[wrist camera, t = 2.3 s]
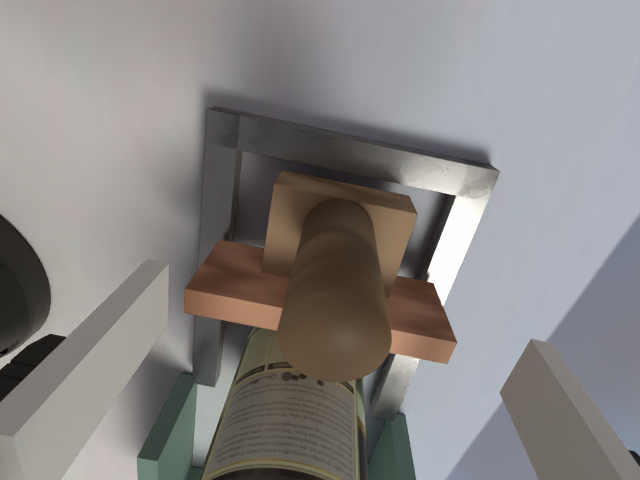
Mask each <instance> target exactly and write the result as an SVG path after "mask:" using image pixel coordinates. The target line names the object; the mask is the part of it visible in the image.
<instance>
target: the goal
mask: <svg viewBox="0 0 640 480" xmlns="http://www.w3.org/2000/svg"><path fill="white" fill-rule="evenodd" d="M196 395H197V384H195V383H192V375H191V374H186V373H181V375H180V376H179V378H178V380H177V382H176V384H175V386H174V388H173V390H172V392H171V394H170V396H169V397H168V399H167V401H166V403H165V405H164V407H163V409H162V411H161V413H160V415H159V416H158V418H157V420H156V422H155V424H154V426H153V428H152V430H151V432H150V434H149V436H148V437H147V439H146V441H145V443H144V445H143V447H142V449H141V451H140V453H139V455H138V457H137V471H138V480H198V479H199V476H200V474H201V471H202V468H197V467H192V458H193V442H194V426H195V411H196ZM368 480H416V476H415V471H414V465H413V459H412V453H411V447H410V441H409V435H408V429H407V423H406V417H405V415H401V414H397V415H396V417H395V419H394V421H389V420H386V422H385V425H384V427H383V429H382V432H381V434H380V437H379V439H378V442H377V444H376V446H375V449H374V451H373V454H372V456H371V458H370V461H369V463H368Z"/></svg>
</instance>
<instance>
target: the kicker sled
mask: <svg viewBox="0 0 640 480" xmlns="http://www.w3.org/2000/svg"><path fill="white" fill-rule="evenodd" d="M417 215H418V214H417V212H416V210H415V208H414V205H413V203H412V201H411V199H410V197H409V196H407V195H402V194H397V193H392V192H387V191H383V190H378V189H373V188H368V187H364V186H359V185H354V184H349V183H344V182H340V181H335V180H330V179H325V178H321V177H316V176H311V175H306V174H302V173H297V172H292V171H287V170H282V171H281V173H280V174H279V176H278V178H277V180H276V181H275V183H274V186H273V193H272V200H271V207H270V214H269V221H268V228H267V235H266V241H265V248H259V247H254V246H249V245H244V244H239V243H234V242H229V241H224V240H219V241H218V242H217V244H216V245H215V246H214V248H213V249H212V251H211V252H210V254H209V255H208V256H207V258H206V259H205V261H204V262H203V264H202V265H201V266H200V268H199V269H198V271H197V272H196V274H195V275H194V276H193V278H192V279H191V281H190V282H189V283H188V285H187V286H186V288H185V296H184V313H189V314H194V315H199V316H204V317H209V318H215V319H220V320H225V321H230V322H235V323H240V324H245V325H250V326H255V327H260V328H266V329H271V330H276V331H277V343H278V347H279V349H280V352H281V354H282V355H283V357H284V358H285V360H286V361H287V362H288V363H289V364H290V365H291V366H292V367H293V368H295V369H296V370H297V371H299V372H300V373H302V374H304V375H306V376H308V377H311V378H314V379H317V380H321V381H327V382H346V381H352V380H356V379H359V378H362V377H364V376H366V375H368V374H370V373H371V372H373V371H375V370H376V369H377V368H378V367H379V366H380V365H381V364H382V363H383V362H384V360H385V359H386V358H387V356H388V354H389V353H393V354H398V355H403V356H409V357H414V358H419V359H424V360H429V361H434V362H439V363H444V364H447V363H448V361H449V359H450V357H451V355H452V353H453V351H454V348H455V346H456V344H457V341H456V338H455V336H454V333H453V331H452V328H451V326H450V323H449V321H448V318H447V316H446V313H445V310H444V308H443V305H442V303H441V300H440V298H439V295H438V293H437V290H436V288H435V285H434V283H432V282H427V281H422V280H417V279H412V278H407V277H402V276H397V273H398V270H399V267H400V264H401V261H402V258H403V256H404V253H405V250H406V247H407V244H408V241H409V238H410V235H411V232H412V229H413V226H414V223H415V220H416V217H417Z"/></svg>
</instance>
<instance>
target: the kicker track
mask: <svg viewBox="0 0 640 480" xmlns="http://www.w3.org/2000/svg"><path fill="white" fill-rule="evenodd" d="M242 151H246V152H251V153H256V154H261V155H265V156H270V157H275V158H280V159H284V160H289V161H294V162H299V163H303V164H308V165H313V166H318V167H322V168H327V169H332V170H337V171H341V172H346V173H351V174H356V175H361V176H365V177H370V178H375V179H380V180H384V181H389V182H394V183H399V184H403V185H408V186H413V187H418V188H422V189H427V190H432V191H437V192H441V193H446V194H448V196H447V199H446V202H445V204H444V207H443V210H442V212H441V215H440V218H439V221H438V223H437V226H436V229H435V231H434V234H433V237H432V239H431V242H430V245H429V247H428V250H427V253H426V255H425V258H424V261H423V263H422V266H421V269H420V272H419V274H418V277H417V280H422V281H427V282H432V283H434V285H435V288H436V290H437V293H438V295H439V298H440V300H441V303H442V305H444V302H445V300H446V298H447V295H448V293H449V291H450V288H451V286H452V284H453V281H454V279H455V277H456V274H457V272H458V270H459V267H460V265H461V263H462V260H463V258H464V256H465V253H466V251H467V249H468V246H469V244H470V242H471V239H472V237H473V235H474V232H475V230H476V228H477V225H478V223H479V221H480V218H481V216H482V214H483V211H484V209H485V207H486V204H487V202H488V200H489V197H490V195H491V192H492V190H493V188H494V185H495V183H496V181H497V178H498V176H499V174H500V171H499V170H497V169H496V168H494V167H493V166H492V165H487V164H483V163H478V162H473V161H469V160H464V159H459V158H455V157H450V156H445V155H440V154H436V153H431V152H426V151H422V150H417V149H412V148H408V147H403V146H398V145H394V144H389V143H384V142H380V141H375V140H370V139H366V138H361V137H356V136H351V135H347V134H342V133H337V132H333V131H328V130H323V129H319V128H314V127H309V126H305V125H300V124H295V123H291V122H286V121H281V120H277V119H272V118H267V117H262V116H258V115H253V114H248V113H244V112H239V111H234V110H230V109H225V108H220V107H216V106H214V107H212V108H209V109H207V115H206V133H205V151H204V170H203V188H202V206H201V225H200V243H199V262H198V269H199V268H200V266H201V265H202V264H203V262H204V261H205V259H206V258H207V256H208V255H209V254H210V252H211V251H212V249H213V248H214V246H215V245H216V244H217V242H218V241H219V240H224V241H229V242H233V239H234V230H235V220H236V210H237V200H238V190H239V180H240V170H241V160H242ZM224 329H225V320H220V319H215V318H209V317H204V316H199V315H196V317H195V335H194V353H193V372H192V383H195V384H200V385H205V386H211V387H215V385H216V383H217V380H218V378H219V375H220V368H221V358H222V349H223V339H224ZM419 361H420V359H419V358H414V357H409V356H403V355H398V354H393V353H389V355H388V357H387V360H386V363H385V366H384V368H383V371H382V374H381V376H380V379H379V382H378V384H377V387H376V390H375V392H374V395H373V398H372V400H371V416H372V417H374V418H379V419H384V420H389V421H394V419H395V417H396V415H397V412H398V410H399V408H400V405H401V403H402V401H403V398H404V396H405V394H406V391H407V389H408V387H409V384H410V382H411V380H412V377H413V375H414V373H415V370H416V368H417V366H418V363H419Z"/></svg>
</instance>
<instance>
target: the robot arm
mask: <svg viewBox="0 0 640 480" xmlns="http://www.w3.org/2000/svg"><path fill="white" fill-rule="evenodd" d="M168 290H169V264H168V263H163V262H158V261H154V260H149V259H147V260H146V261H145V262H144V263H143V264H142V265H141V266H140V267H139V268H138V269H137V270H136V271H135V272H134V273H133V274H132V275H131V276H129V277H128V278H127V279H126V280H125V281H124V282H123V283H122V284H121V285H120V286H119V287H118V288H117V289H116V290H115V291H114V292H113V293H112V294H111V295H110V296H109V297H108V298H107V299H106V300H105V301H104V302H103V303H102V304H101V305H100V306H99V307H98V308H97V309H96V310H95V311H94V312H92V313H91V314H90V315H89V316H88V317H87V318H86V319H85V320H84V321H83V322H82V323H81V324H80V325H79V326H78V327H77V328H76V329H75V330H74V331H73V332H72V333H71V334H70V335H69V336H68V337H63V336H58V335H53V334H49V335H47V336H45V337H43V338H41V339H39V340H37V341H35V342H33V343H31V344H30V345H28V346H27V347H26V348H24V349H23V350H22V351H21V352H20V353H19V354H18V355H16V356H15V357H14V358H13V359H12V360H11V362H10V363H9V364H8V363H7V364H6V365H5V366H4V367H3V368H2V369H1V370H0V480H61V478H62V477H63V475H64V474H65V472H66V471H67V469H68V468H69V467H70V465H71V464H72V462H73V461H74V459H75V458H76V456H77V455H78V454H79V452H80V451H81V449H82V448H83V446H84V445H85V444H86V442H87V441H88V439H89V438H90V436H91V435H92V433H93V432H94V431H95V429H96V428H97V426H98V425H99V423H100V422H101V420H102V419H103V418H104V416H105V415H106V413H107V412H108V410H109V409H110V407H111V406H112V405H113V403H114V402H115V400H116V399H117V397H118V396H119V395H120V393H121V392H122V390H123V389H124V387H125V386H126V384H127V383H128V382H129V380H130V379H131V377H132V376H133V374H134V373H135V371H136V370H137V369H138V367H139V366H140V364H141V363H142V361H143V360H144V358H145V357H146V356H147V354H148V353H149V351H150V350H151V348H152V347H153V346H154V344H155V343H156V341H157V340H158V338H159V337H160V335H161V334H162V333H163V331H164V330H165V328H166V327H167V325H168ZM50 303H51V295H50V288H49V284H48V280H47V277H46V275H45V272H44V270H43V268H42V266H41V264H40V262H39V260H38V258H37V257H36V255H35V254H34V252H33V251H32V249H31V248H30V247H29V245H28V244H27V243H26V242H25V240H24V239H23V238H22V237H21V236H20V235H19V234H18V233H17V232H16V231H15V230H14V229H13V228H12V227H11V226H10V225H9V224H8V223H7V222H5V221H4V220H3V219H2V218H1V217H0V358H1V357H3V356H5V355H7V354H9V353H11V352H12V351H14V350H15V349H17V348H18V347H20V346H21V345H22V344H23V343H24V342H25V341H27V340H28V339H29V338H30V337H31V336H32V335H33V334H35V333H36V332H37V331H38V330H39V329H40V328H41V327H42V325H43V324H44V323H45V321H46V319H47V317H48V314H49V310H50ZM500 394H501V397H502V399H503V401H504V403H505V406H506V408H507V410H508V412H509V414H510V417H511V419H512V421H513V423H514V426H515V428H516V430H517V432H518V435H519V437H520V439H521V441H522V443H523V446H524V448H525V450H526V452H527V455H528V457H529V459H530V461H531V464H532V466H533V468H534V470H535V472H536V475H537V477H538V479H539V480H640V456H639V455H638V454H637V453H636V452H634V451H629V450H628V449H627V448H626V447H625V445H624V444H623V442H622V441H621V440H620V438H619V437H618V435H617V434H616V433H615V431H614V430H613V428H612V427H611V426H610V424H609V423H608V421H607V420H606V419H605V418H604V416H603V415H602V413H601V412H600V410H599V409H598V407H597V406H596V405H595V403H594V402H593V400H592V399H591V397H590V396H589V395H588V394H587V392H586V390H585V389H584V388H583V386H582V385H581V383H580V382H579V381H578V379H577V378H576V376H575V375H574V374H573V372H572V371H571V369H570V368H569V367H568V365H567V364H566V363H565V361H564V360H563V358H562V357H561V355H560V354H559V353H558V351H557V350H556V348H555V347H554V346H553V344H552V343H548V342H544V341H539V340H534V339H531V340H530V342H529V343H528V345H527V347H526V348H525V350H524V352H523V354H522V355H521V357H520V359H519V360H518V362H517V364H516V365H515V367H514V369H513V371H512V372H511V374H510V376H509V377H508V379H507V381H506V382H505V384H504V386H503V387H502V389H501V391H500Z"/></svg>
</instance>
